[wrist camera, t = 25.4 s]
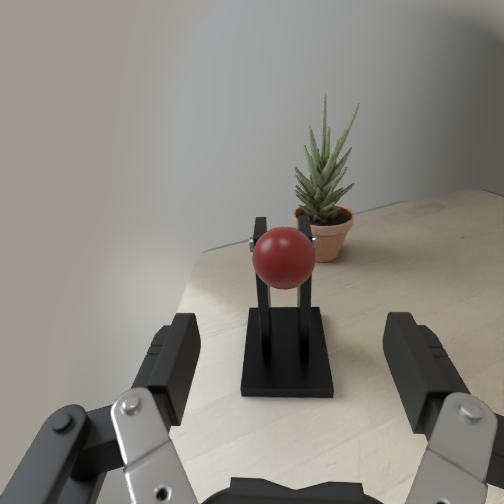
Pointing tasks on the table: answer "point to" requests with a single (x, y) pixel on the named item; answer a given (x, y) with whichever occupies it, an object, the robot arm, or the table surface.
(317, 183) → the potted plant
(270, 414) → the table surface
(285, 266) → the lever handle
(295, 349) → the lever stand
